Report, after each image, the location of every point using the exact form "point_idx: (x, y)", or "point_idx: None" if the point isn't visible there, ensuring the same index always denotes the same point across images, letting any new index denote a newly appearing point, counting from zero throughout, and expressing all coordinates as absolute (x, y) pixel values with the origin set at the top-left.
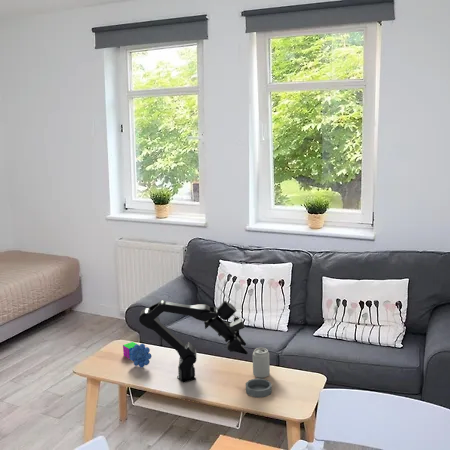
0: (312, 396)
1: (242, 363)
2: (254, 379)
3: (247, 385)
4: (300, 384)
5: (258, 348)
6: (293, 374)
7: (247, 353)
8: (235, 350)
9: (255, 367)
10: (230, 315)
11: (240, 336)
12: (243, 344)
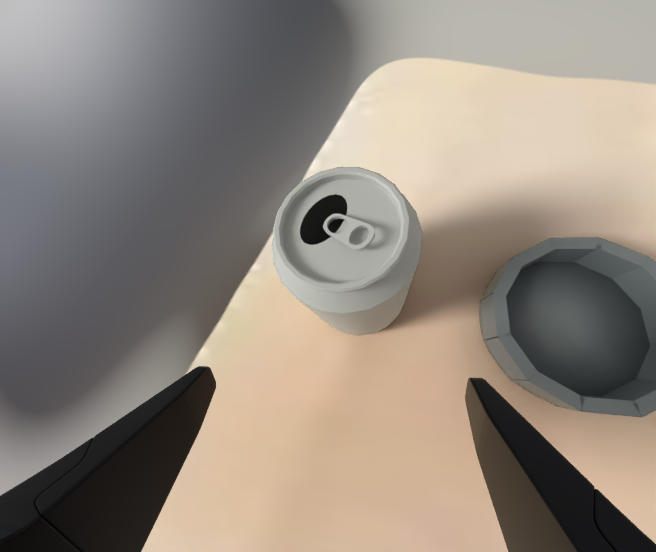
0: (590, 85)
1: None
2: (510, 337)
3: (619, 401)
4: (467, 127)
5: (283, 245)
6: (366, 150)
7: (480, 383)
8: None
9: (391, 313)
10: None
11: (73, 484)
12: (203, 403)
